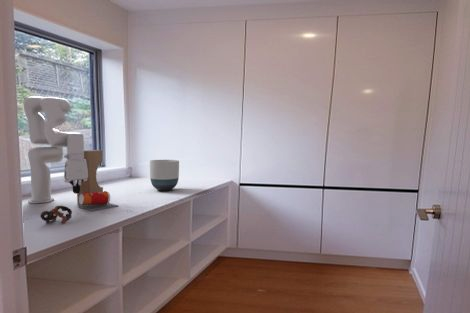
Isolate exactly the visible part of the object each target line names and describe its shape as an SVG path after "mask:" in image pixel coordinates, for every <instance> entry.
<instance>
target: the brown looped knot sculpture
mask: <svg viewBox="0 0 470 313" xmlns="http://www.w3.org/2000/svg"><path fill="white" fill-rule="evenodd" d="M59 210H61V211H62V212H61V211H59ZM64 212H67V213H66V214H65V213H64ZM72 213H73V211H72V209H70V208H69V207H67V206H65V205H56V206H54V208H52V209H50V210H45V211H42V212H41V213H40V218H41V220H42V221H44V222H45V223H46V224H49V223H50V221H56V220H57V218H58V217H59V218H61V221H60V223H61V225H64V224H65V223H67V222H68V221H70V220H71V219H72Z"/></svg>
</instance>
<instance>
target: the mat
mask: <svg viewBox="0 0 470 313" xmlns="http://www.w3.org/2000/svg"><path fill="white" fill-rule="evenodd" d="M118 207H119V205H118V204H114V203H111V202H109V203H108V204H106V205H79V206H78V207H77V208H79V209H82V210H86V211H89V212H95V211H101V210H108V209H111V208H112V209H113V208H118Z"/></svg>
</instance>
